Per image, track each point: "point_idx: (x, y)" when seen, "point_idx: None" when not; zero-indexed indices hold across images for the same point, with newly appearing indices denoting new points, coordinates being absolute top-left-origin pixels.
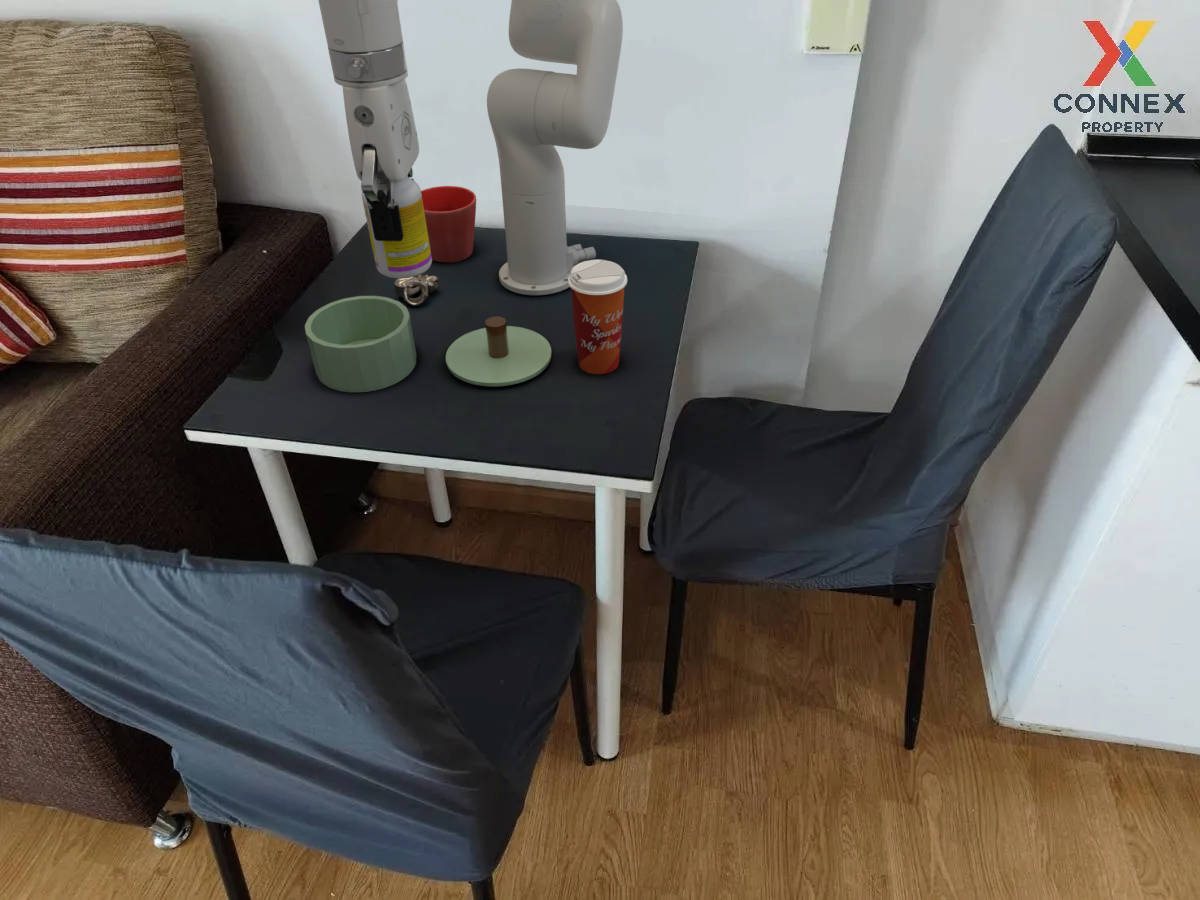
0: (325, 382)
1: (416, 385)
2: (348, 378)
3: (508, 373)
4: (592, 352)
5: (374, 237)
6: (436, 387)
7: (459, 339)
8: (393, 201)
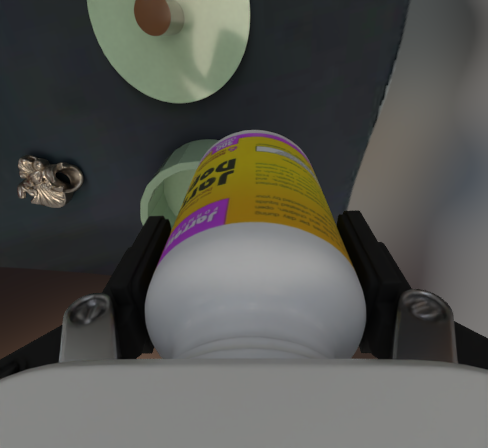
0: None
1: (246, 126)
2: None
3: None
4: None
5: None
6: (249, 99)
7: (148, 92)
8: (407, 309)
